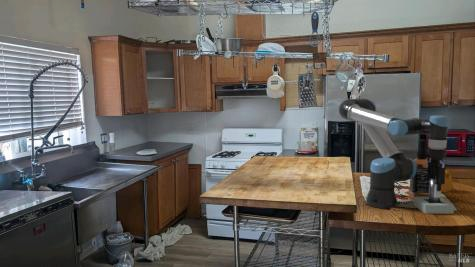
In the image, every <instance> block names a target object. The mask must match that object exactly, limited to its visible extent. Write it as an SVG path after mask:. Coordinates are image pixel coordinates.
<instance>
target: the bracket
mask: <svg viewBox="0 0 475 267" xmlns="http://www.w3.org/2000/svg"><path fill="white" fill-rule="evenodd" d="M453 183H454V182H453V178H452V174H451V171H450V170H445V184H442V187H441V193H445V192H450V191H451V190H454V184H453Z"/></svg>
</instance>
